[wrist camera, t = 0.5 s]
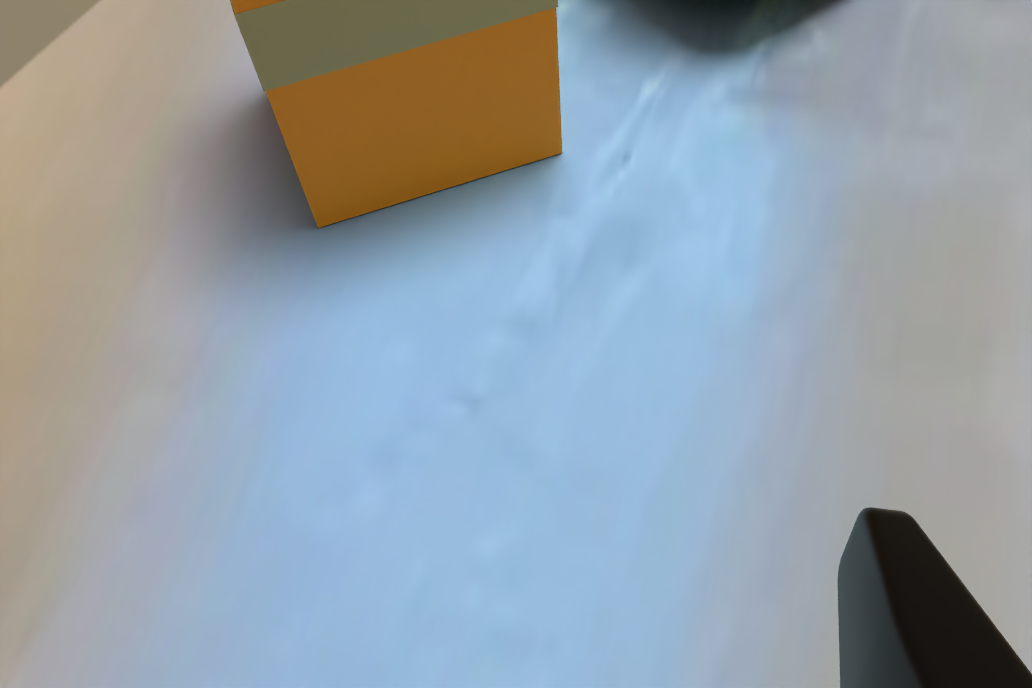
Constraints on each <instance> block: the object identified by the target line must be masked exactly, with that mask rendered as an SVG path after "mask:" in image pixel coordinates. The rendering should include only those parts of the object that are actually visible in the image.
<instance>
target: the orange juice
mask: <svg viewBox="0 0 1032 688" xmlns="http://www.w3.org/2000/svg"><path fill="white" fill-rule="evenodd" d="M230 1H231V5H232V8H233V12H234V15H235V18H236V21H237V23H238V26H239V28H240V31H241V34H242V36H243V39H244V41H245V44H246V46H247V49H248V52H249V54H250V57H251V59H252V62H253V65H254V67H255V70H256V72H257V75H258V78H259V80H260V83H261V85H262V88H263V91H266V94H267V96H268V99H269V102H270V104H271V107H272V110H273V112H274V115H275V117H276V120H277V123H278V125H279V128H280V130H281V133H282V136H283V138H284V141H285V143H286V146H287V149H288V151H289V154H290V156H291V159H292V162H293V164H294V167H295V169H296V172H297V175H298V177H299V180H300V182H301V185H302V188H303V190H304V193H305V195H306V198H307V201H308V203H309V206H310V209H311V211H312V214H313V216H314V219H315V222H316V224H317V227H318V228H320V227H323V226H326V225H329V224H333V223H336V222H339V221H342V220H346V219H349V218H352V217H355V216H359V215H362V214H365V213H368V212H372V211H375V210H378V209H381V208H385V207H388V206H391V205H394V204H398V203H401V202H404V201H407V200H411V199H414V198H417V197H420V196H424V195H427V194H430V193H433V192H437V191H440V190H443V189H446V188H450V187H453V186H456V185H459V184H463V183H466V182H469V181H472V180H476V179H479V178H482V177H485V176H489V175H492V174H495V173H498V172H502V171H505V170H508V169H511V168H515V167H518V166H521V165H524V164H528V163H531V162H534V161H537V160H541V159H544V158H547V157H550V156H554V155H557V154H560V153H562V138H561V114H560V90H559V66H558V42H557V18H556V7H558V0H230Z"/></svg>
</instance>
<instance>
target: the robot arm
mask: <svg viewBox="0 0 1032 688" xmlns="http://www.w3.org/2000/svg"><path fill="white" fill-rule="evenodd" d="M838 613H839V651H840V688H1032V674H1031V673H1030V671H1029V670H1028V669H1027V667H1026V666H1025V665H1024V663H1023V662H1022V661H1021V659H1020V658H1019V657H1018V655H1017V654H1016V653H1015V651H1014V650H1013V649H1012V647H1011V646H1010V645H1009V643H1008V642H1007V641H1006V640H1005V638H1004V637H1003V636H1002V634H1001V633H1000V632H999V630H998V629H997V628H996V626H995V625H994V624H993V622H992V621H991V620H990V618H989V617H988V616H987V614H986V613H985V612H984V610H983V609H982V608H981V607H980V605H979V604H978V603H977V601H976V600H975V599H974V597H973V596H972V595H971V593H970V592H969V591H968V589H967V588H966V587H965V585H964V584H963V583H962V581H961V580H960V579H959V578H958V576H957V575H956V574H955V572H954V571H953V570H952V568H951V567H950V566H949V564H948V563H947V562H946V560H945V559H944V558H943V556H942V555H941V554H940V552H939V551H938V550H937V548H936V547H935V546H934V545H933V543H932V542H931V541H930V539H929V538H928V537H927V535H926V534H925V533H924V531H923V530H922V529H921V527H920V526H919V525H918V523H917V522H916V521H915V520H914V518H913V517H911V516H910V515H909V514H907V513H905V512H902V511H896V510H887V509H879V508H865V509H863V510H862V511H861V512H860V514H859V515H858V517H857V520H856V522H855V525H854V527H853V530H852V532H851V535H850V537H849V540H848V542H847V545H846V547H845V550H844V552H843V555H842V557H841V560H840V565H839V571H838Z"/></svg>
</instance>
